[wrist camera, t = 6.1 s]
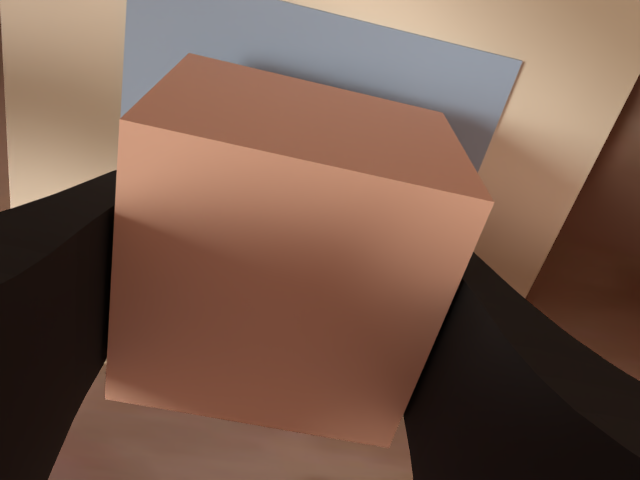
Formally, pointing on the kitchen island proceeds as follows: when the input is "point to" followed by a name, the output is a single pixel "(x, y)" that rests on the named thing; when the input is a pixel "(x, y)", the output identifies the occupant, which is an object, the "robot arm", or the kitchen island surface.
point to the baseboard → (342, 85)
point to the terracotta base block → (283, 250)
